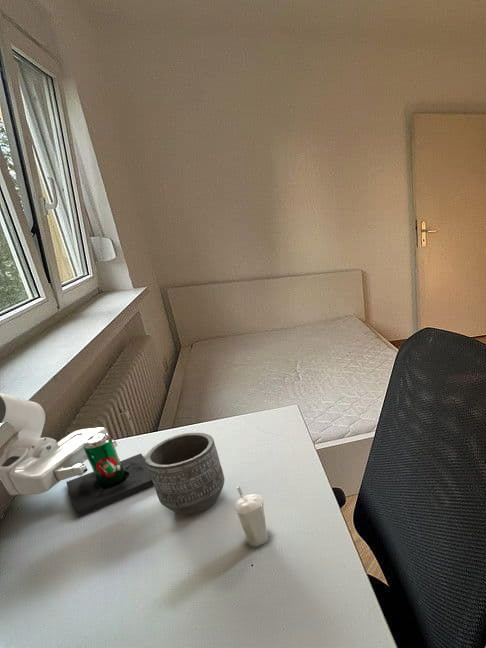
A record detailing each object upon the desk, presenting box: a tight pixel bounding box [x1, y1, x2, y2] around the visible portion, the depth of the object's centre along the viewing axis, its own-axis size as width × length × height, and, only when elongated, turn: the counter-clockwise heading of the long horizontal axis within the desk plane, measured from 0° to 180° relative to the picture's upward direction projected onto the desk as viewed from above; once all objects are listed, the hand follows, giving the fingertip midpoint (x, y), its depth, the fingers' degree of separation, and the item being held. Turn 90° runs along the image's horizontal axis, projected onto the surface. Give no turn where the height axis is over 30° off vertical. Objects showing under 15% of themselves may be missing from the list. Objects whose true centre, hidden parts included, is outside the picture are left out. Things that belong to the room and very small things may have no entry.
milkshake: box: [234, 486, 268, 548], centre depth 77 cm, size 4×5×10 cm
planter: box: [144, 432, 226, 517], centre depth 87 cm, size 12×12×13 cm
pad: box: [66, 453, 155, 518], centre depth 96 cm, size 15×14×2 cm
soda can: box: [83, 433, 128, 489], centre depth 94 cm, size 5×5×12 cm
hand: (100, 456), depth 93 cm, fingers open, 8 cm apart
